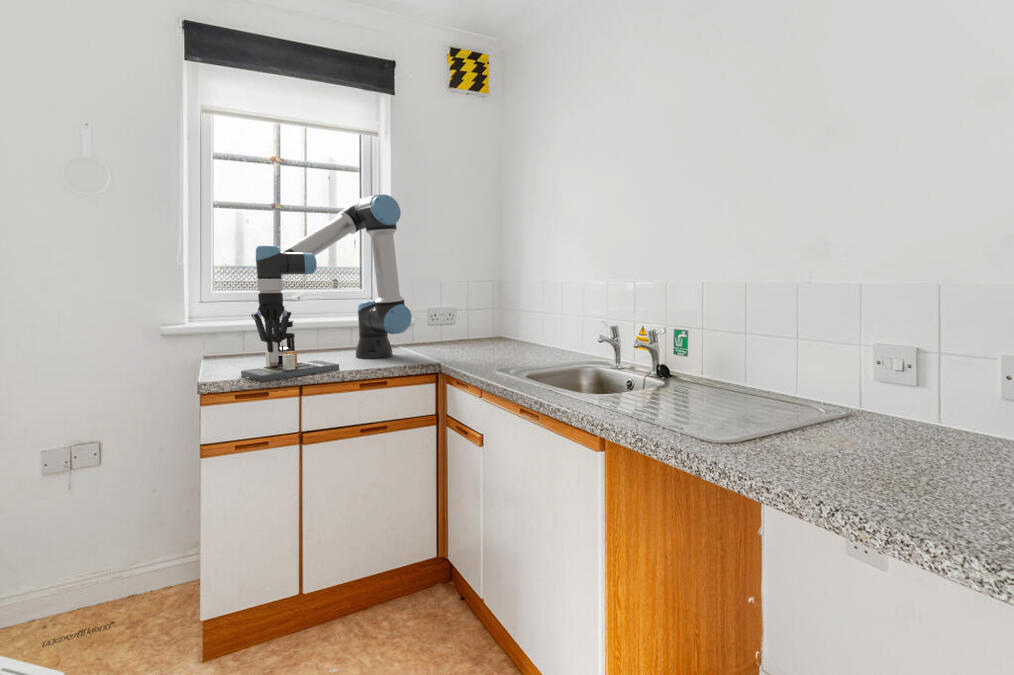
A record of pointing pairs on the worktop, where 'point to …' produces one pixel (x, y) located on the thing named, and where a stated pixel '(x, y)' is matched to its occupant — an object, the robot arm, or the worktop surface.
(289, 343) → the french press
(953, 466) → the worktop surface
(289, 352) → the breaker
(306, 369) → the panel
